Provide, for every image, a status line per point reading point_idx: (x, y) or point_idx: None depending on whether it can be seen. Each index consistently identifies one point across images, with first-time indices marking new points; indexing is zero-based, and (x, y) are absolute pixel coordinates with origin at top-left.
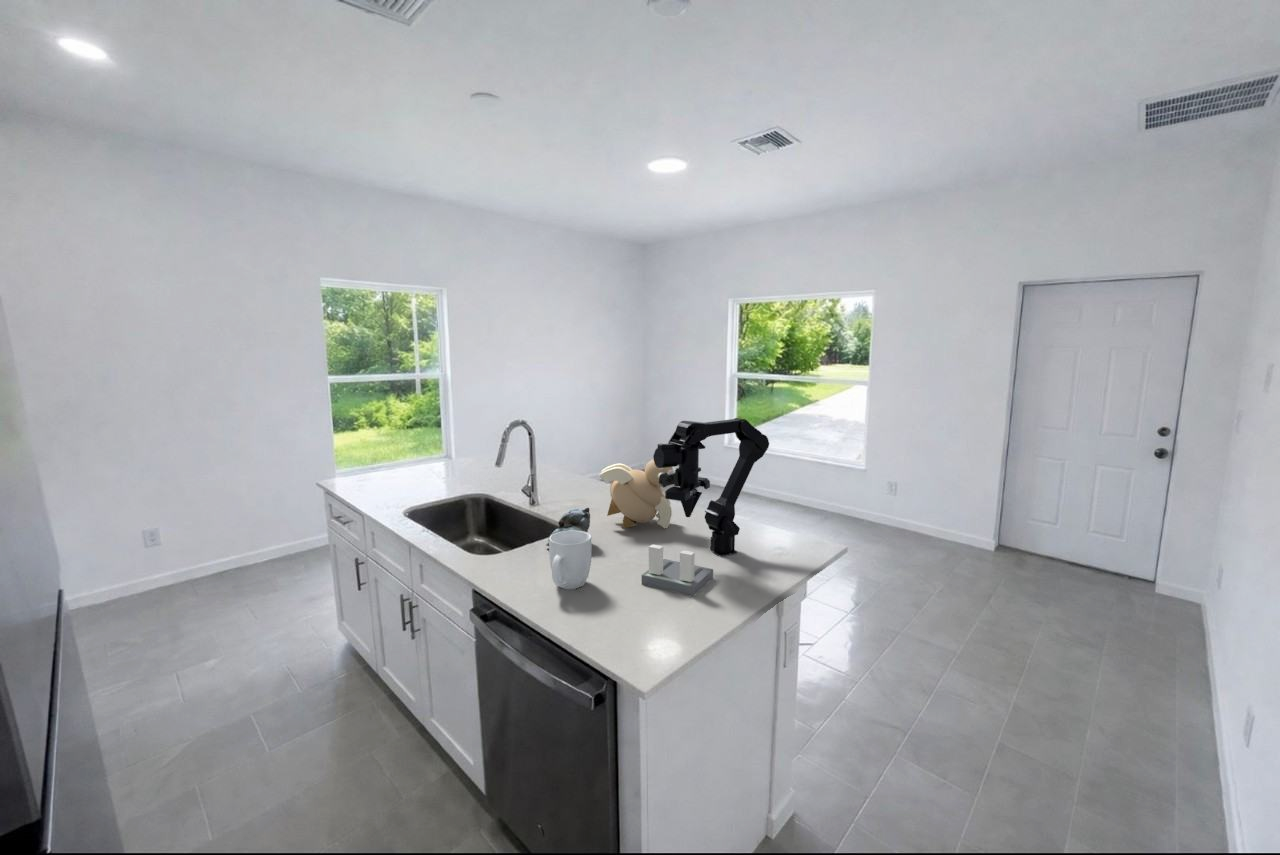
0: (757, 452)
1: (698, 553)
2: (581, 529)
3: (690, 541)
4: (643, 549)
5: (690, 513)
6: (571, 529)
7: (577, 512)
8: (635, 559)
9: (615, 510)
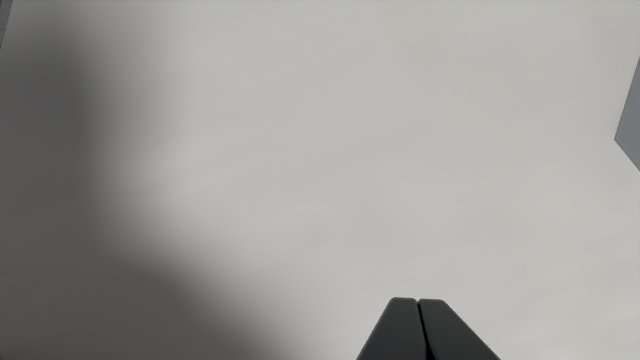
0: None
1: (224, 25)
2: None
3: (50, 171)
4: (359, 341)
5: (468, 341)
6: None
7: None
8: (532, 323)
9: None
